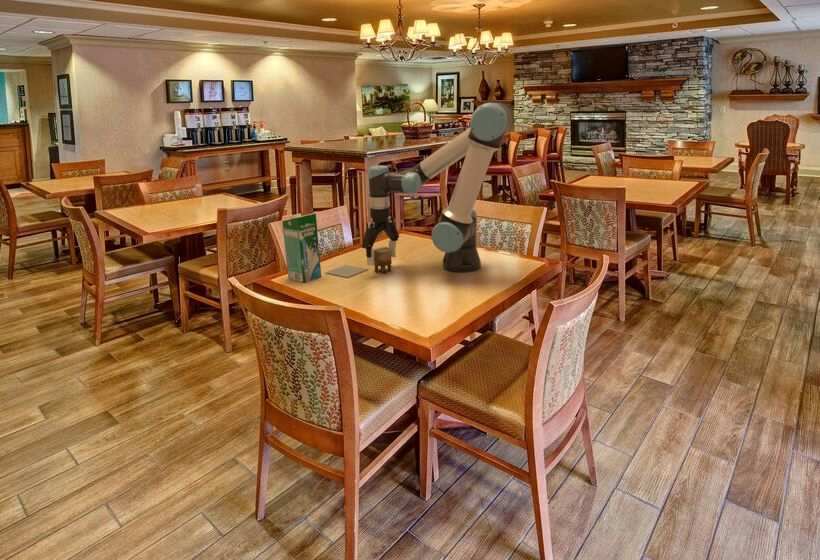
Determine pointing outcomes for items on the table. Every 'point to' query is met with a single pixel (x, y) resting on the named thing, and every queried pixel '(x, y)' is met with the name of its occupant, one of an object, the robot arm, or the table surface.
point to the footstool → (382, 258)
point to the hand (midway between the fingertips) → (381, 260)
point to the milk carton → (302, 247)
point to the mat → (346, 271)
